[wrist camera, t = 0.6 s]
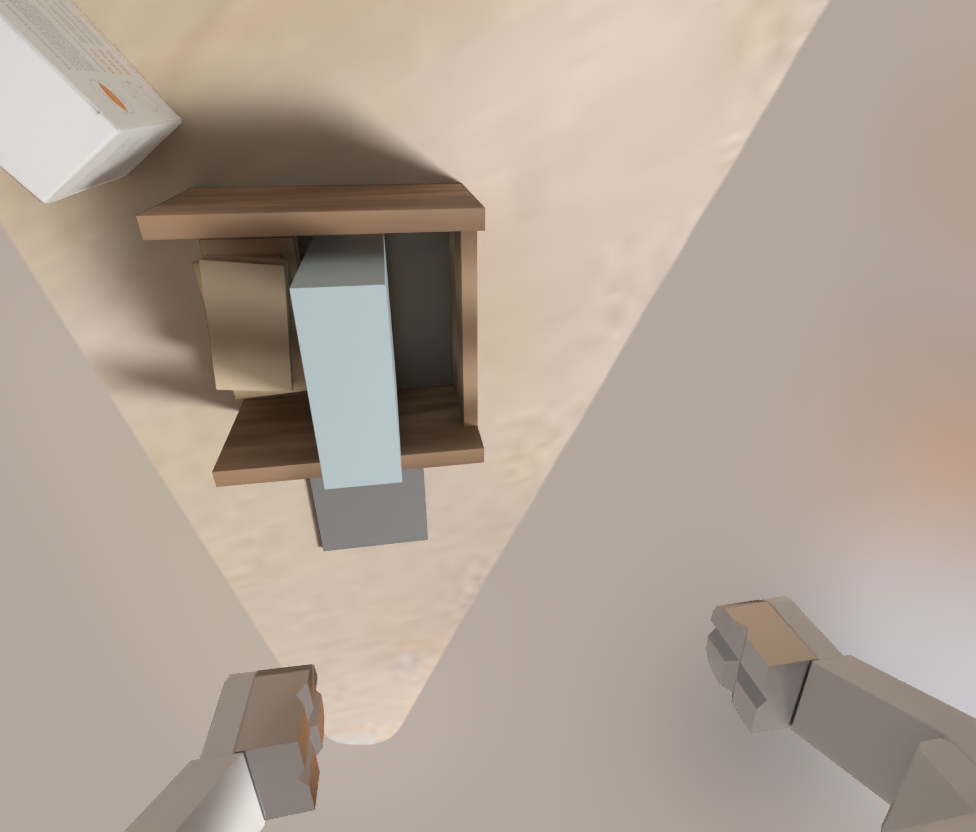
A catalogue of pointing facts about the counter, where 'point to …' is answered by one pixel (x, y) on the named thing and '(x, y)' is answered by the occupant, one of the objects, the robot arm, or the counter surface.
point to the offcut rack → (336, 211)
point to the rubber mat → (371, 512)
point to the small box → (70, 102)
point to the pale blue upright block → (349, 358)
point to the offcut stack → (251, 313)
